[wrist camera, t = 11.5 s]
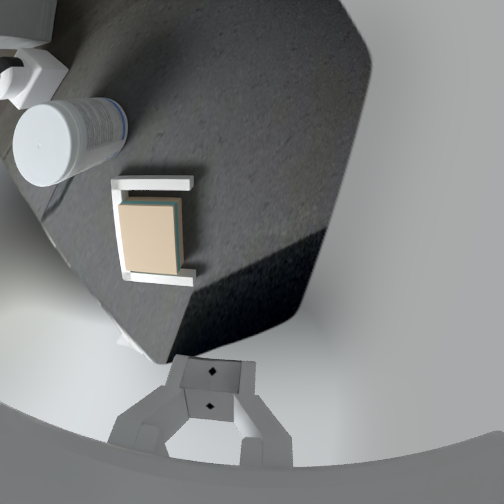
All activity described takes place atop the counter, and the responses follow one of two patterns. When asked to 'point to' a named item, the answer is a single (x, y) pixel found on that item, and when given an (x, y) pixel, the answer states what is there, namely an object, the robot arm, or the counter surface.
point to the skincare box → (26, 23)
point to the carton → (152, 234)
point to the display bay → (119, 194)
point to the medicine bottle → (30, 77)
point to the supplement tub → (67, 138)
